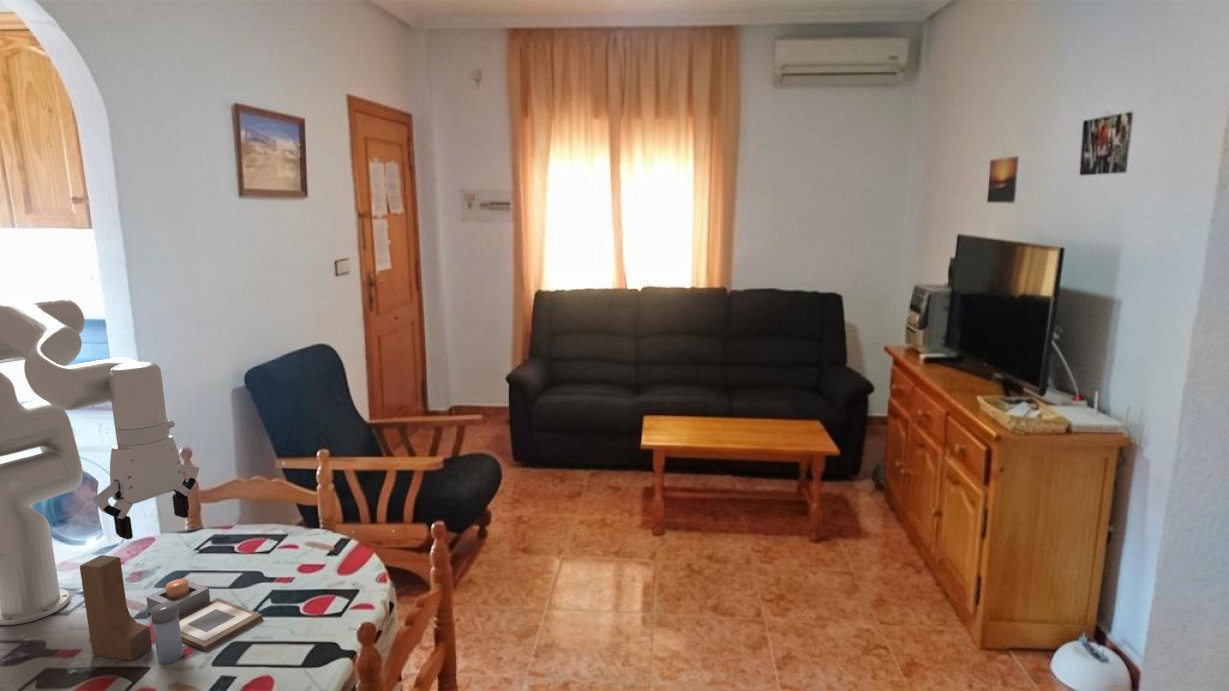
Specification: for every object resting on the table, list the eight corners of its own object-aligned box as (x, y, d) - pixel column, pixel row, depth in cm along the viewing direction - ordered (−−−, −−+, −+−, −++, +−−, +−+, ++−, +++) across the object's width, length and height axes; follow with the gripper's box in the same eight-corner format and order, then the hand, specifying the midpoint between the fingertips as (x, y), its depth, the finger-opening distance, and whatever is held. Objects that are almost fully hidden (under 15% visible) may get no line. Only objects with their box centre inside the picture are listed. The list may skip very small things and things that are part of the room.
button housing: (148, 612, 144) (146, 597, 143) (186, 594, 151) (185, 579, 150) (172, 622, 140) (170, 606, 140) (210, 603, 147) (208, 588, 147)
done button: (162, 597, 144) (161, 585, 144) (181, 588, 148) (180, 577, 147) (174, 601, 143) (173, 590, 142) (193, 592, 146) (192, 581, 146)
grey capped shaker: (152, 660, 129) (145, 610, 127) (175, 648, 132) (168, 599, 130) (165, 666, 127) (159, 616, 125) (188, 654, 130) (182, 604, 129)
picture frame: (159, 631, 137) (159, 626, 137) (218, 602, 148) (217, 597, 148) (205, 651, 131) (204, 645, 131) (262, 619, 142) (262, 613, 141)
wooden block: (153, 647, 132) (141, 558, 129) (132, 662, 128) (119, 570, 125) (113, 641, 134) (100, 554, 131) (91, 656, 130) (78, 565, 127)
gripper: (179, 418, 131) (189, 505, 134) (74, 445, 116) (88, 542, 119) (204, 423, 128) (214, 512, 131) (100, 451, 113) (114, 551, 116)
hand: (154, 526), depth 125 cm, fingers open, 9 cm apart
